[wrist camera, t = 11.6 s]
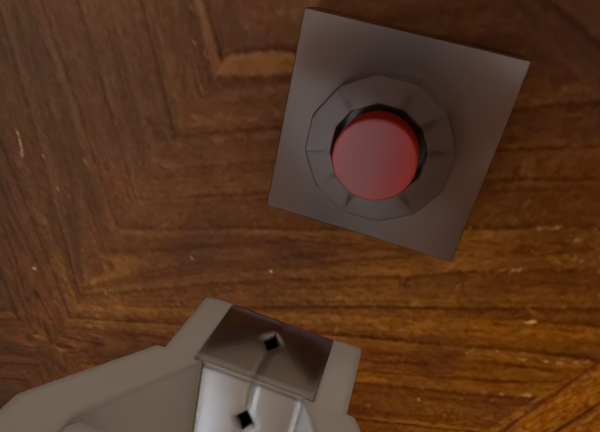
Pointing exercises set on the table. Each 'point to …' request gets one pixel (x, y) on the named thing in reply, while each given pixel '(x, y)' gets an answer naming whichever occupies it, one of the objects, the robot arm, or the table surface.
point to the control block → (407, 104)
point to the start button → (376, 155)
